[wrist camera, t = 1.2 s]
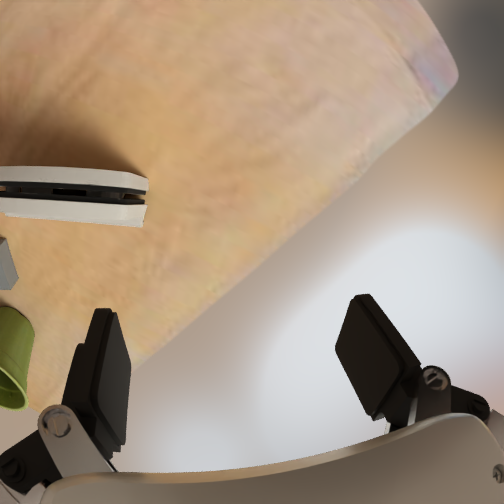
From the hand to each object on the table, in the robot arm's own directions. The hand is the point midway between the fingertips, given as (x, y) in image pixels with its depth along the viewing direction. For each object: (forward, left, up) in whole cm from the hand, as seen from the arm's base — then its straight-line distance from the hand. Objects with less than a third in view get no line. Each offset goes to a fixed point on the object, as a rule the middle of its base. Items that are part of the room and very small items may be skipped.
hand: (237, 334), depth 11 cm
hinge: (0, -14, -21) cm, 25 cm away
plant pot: (+19, -29, -21) cm, 40 cm away
